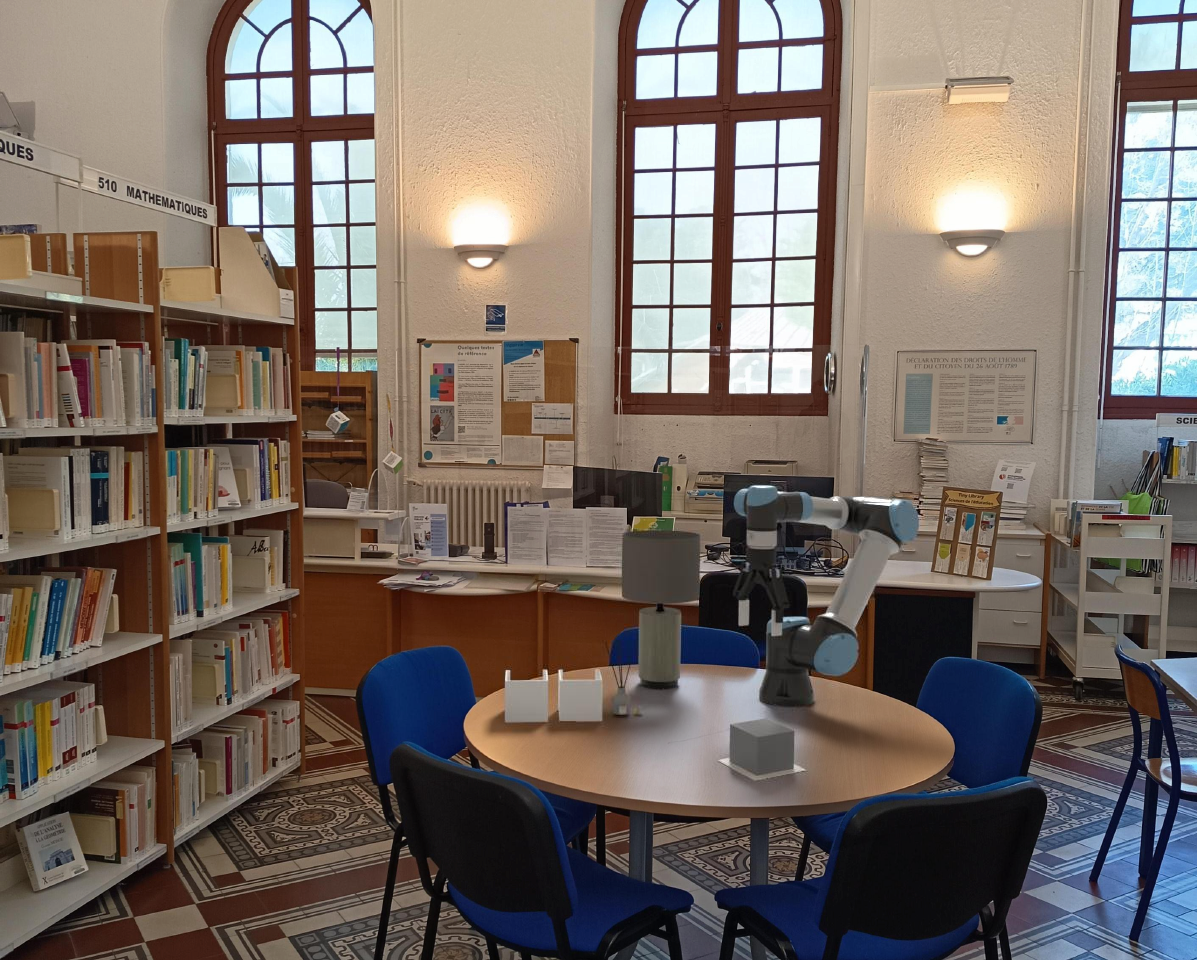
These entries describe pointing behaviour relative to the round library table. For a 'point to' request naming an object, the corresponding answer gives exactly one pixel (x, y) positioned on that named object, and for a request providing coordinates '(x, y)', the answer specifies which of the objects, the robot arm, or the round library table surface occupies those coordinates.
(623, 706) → the reed diffuser
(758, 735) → the block
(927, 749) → the round library table surface
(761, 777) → the white flat square plate
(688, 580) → the lamp
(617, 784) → the round library table surface
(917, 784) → the round library table surface
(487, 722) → the round library table surface
